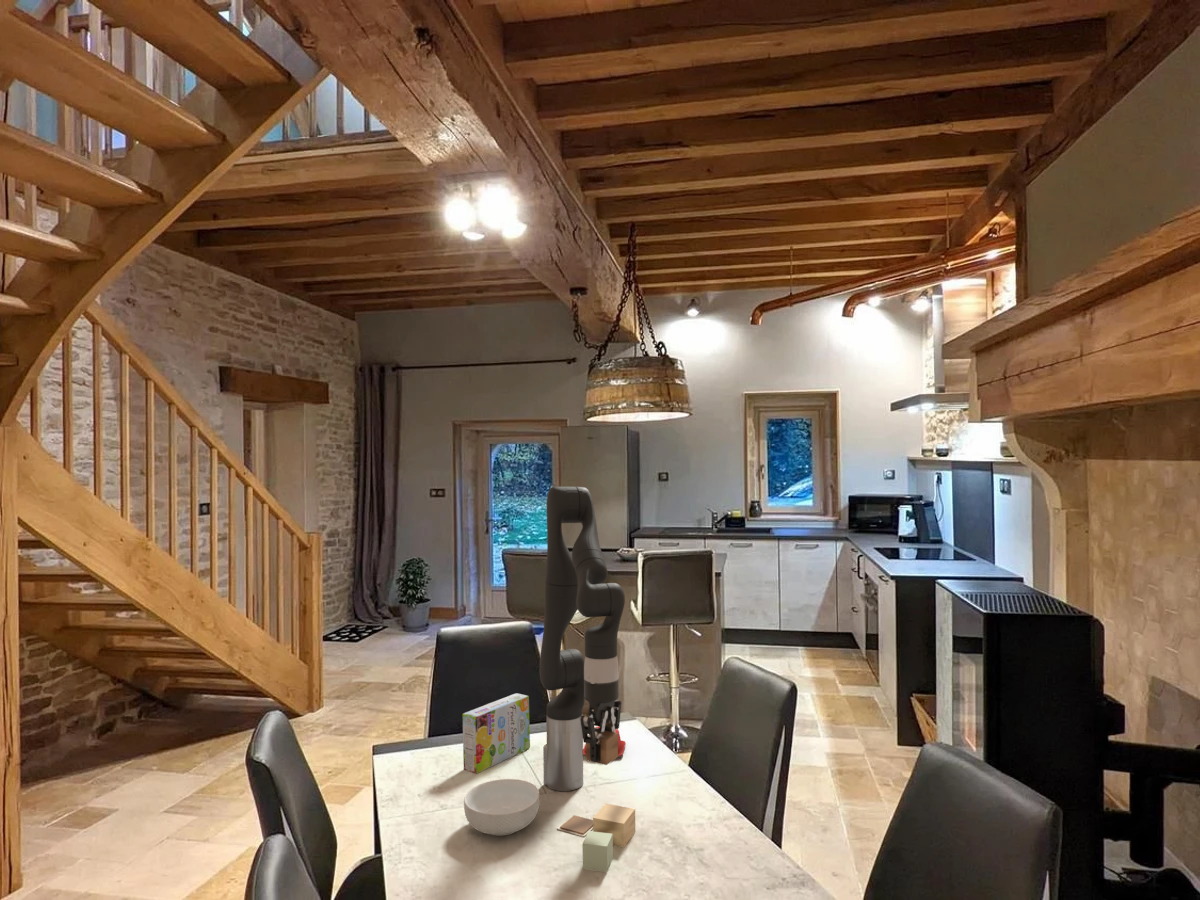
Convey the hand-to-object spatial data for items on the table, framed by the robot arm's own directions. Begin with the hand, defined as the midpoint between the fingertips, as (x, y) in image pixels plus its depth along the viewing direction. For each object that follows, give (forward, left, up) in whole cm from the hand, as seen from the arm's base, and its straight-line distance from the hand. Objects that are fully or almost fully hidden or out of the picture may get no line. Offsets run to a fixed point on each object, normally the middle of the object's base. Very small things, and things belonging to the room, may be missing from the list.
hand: (602, 756), depth 149 cm
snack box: (-46, +24, -18) cm, 55 cm away
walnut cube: (0, 0, 0) cm, 0 cm away
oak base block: (+2, +2, -17) cm, 18 cm away
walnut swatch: (-7, +2, -17) cm, 19 cm away
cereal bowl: (-22, -6, -18) cm, 29 cm away
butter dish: (-22, +42, -18) cm, 51 cm away
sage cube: (+4, -9, -17) cm, 20 cm away
